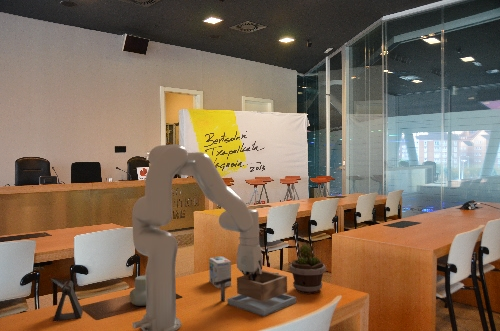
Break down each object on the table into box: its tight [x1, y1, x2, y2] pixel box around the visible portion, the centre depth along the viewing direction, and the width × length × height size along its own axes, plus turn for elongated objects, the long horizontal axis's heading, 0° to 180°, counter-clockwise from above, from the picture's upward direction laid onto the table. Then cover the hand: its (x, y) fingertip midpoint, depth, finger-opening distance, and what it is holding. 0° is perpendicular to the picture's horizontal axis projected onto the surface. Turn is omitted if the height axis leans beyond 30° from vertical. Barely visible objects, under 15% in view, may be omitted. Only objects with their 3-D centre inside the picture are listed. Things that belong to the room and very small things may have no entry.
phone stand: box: [52, 280, 84, 322], centre depth 142 cm, size 9×6×12 cm, turn 106°
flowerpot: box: [289, 240, 327, 295], centre depth 168 cm, size 14×15×20 cm
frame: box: [236, 269, 288, 302], centre depth 153 cm, size 13×13×6 cm
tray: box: [226, 293, 297, 317], centre depth 153 cm, size 18×18×2 cm
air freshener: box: [129, 274, 146, 307], centre depth 155 cm, size 11×8×10 cm
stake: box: [213, 277, 232, 303], centre depth 156 cm, size 8×2×8 cm, turn 136°
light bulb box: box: [208, 255, 232, 289], centre depth 178 cm, size 11×7×11 cm, turn 25°
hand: (250, 288), depth 157 cm, fingers closed on frame, 1 cm apart
